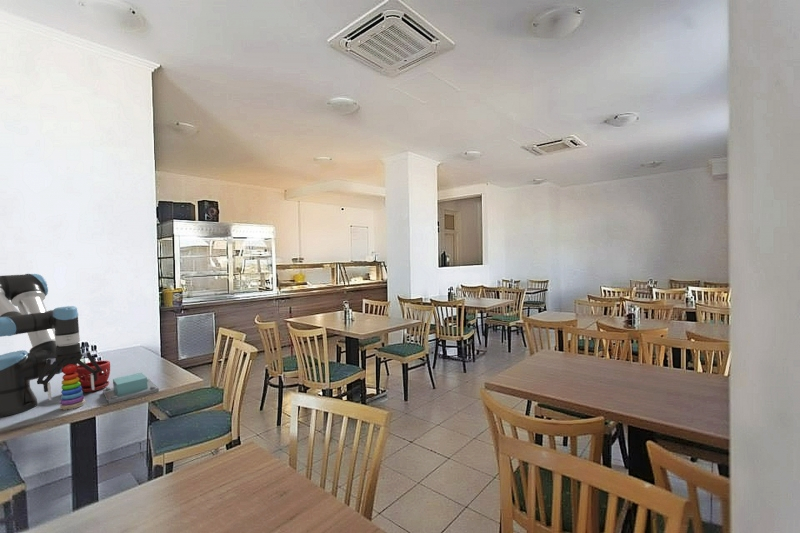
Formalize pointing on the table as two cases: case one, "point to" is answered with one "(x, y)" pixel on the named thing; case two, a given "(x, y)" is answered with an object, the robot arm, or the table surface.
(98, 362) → the plant pot
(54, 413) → the table surface
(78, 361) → the robot arm
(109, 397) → the baseplate
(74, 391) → the stacking toy
